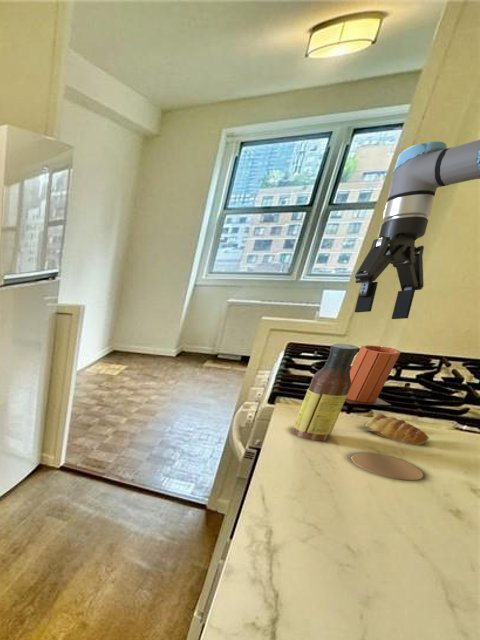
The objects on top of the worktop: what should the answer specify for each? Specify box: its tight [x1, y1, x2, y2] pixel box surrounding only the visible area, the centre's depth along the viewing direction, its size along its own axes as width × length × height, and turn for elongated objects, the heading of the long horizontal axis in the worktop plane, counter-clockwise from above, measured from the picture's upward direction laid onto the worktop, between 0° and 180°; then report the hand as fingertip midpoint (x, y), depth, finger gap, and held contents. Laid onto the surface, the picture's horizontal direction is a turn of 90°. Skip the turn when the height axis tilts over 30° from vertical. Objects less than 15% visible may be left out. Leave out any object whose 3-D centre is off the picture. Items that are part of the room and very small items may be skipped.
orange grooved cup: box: [346, 344, 401, 402], centre depth 116 cm, size 7×7×12 cm
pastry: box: [365, 413, 430, 446], centre depth 102 cm, size 9×7×4 cm
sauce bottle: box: [293, 343, 360, 442], centre depth 100 cm, size 6×6×20 cm
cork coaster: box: [350, 452, 424, 481], centre depth 92 cm, size 10×10×1 cm
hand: (381, 315), depth 114 cm, fingers open, 13 cm apart
